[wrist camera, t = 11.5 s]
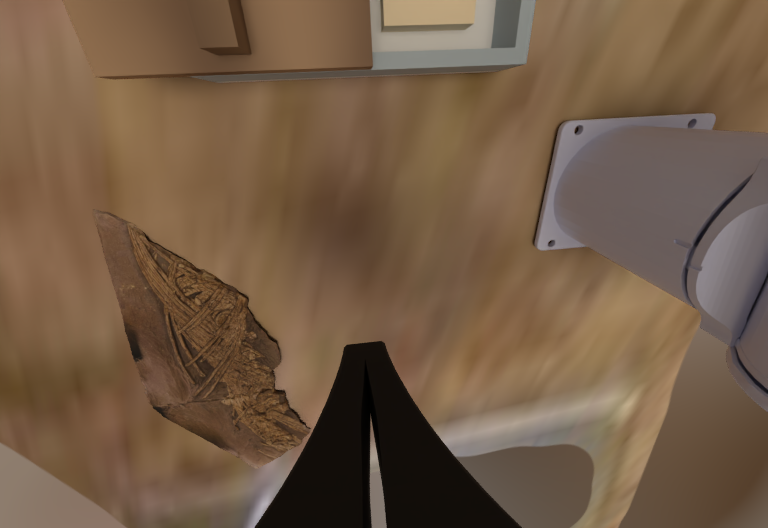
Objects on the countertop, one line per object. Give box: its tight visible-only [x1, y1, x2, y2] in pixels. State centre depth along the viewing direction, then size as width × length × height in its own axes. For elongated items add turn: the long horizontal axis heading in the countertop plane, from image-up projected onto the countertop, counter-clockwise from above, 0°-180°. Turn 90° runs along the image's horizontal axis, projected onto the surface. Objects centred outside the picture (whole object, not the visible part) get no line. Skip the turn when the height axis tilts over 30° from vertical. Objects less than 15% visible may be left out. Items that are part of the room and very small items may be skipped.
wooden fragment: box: [93, 209, 311, 469], centre depth 23 cm, size 26×11×1 cm, turn 7°
